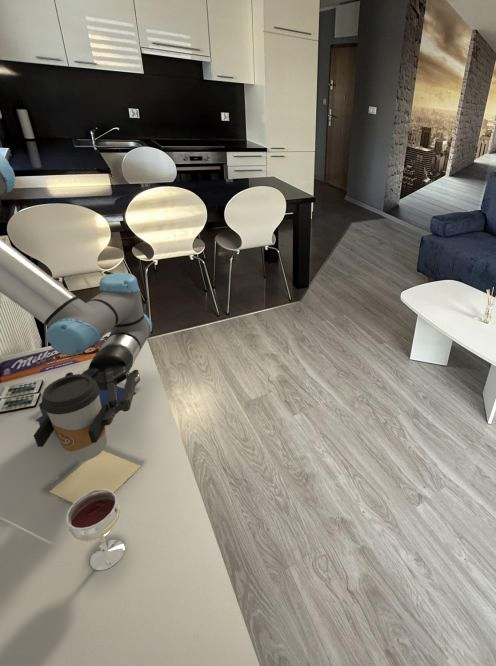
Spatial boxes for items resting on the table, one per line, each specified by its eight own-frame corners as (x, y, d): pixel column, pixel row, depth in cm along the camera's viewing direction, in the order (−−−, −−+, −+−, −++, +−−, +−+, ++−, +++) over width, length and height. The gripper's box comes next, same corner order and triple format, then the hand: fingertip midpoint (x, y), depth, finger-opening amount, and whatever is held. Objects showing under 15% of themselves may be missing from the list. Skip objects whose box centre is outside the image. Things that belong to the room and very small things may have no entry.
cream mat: (49, 492, 76) (49, 491, 76) (100, 449, 85) (100, 449, 85) (93, 513, 73) (93, 512, 73) (141, 466, 82) (140, 466, 82)
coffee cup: (50, 458, 73) (26, 395, 66) (90, 427, 80) (73, 367, 74) (85, 473, 71) (63, 409, 64) (123, 439, 78) (108, 379, 71)
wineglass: (80, 583, 63) (62, 536, 57) (86, 543, 68) (69, 497, 63) (129, 565, 66) (115, 519, 60) (131, 528, 71) (118, 483, 66)
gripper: (166, 370, 91) (134, 449, 71) (68, 374, 88) (4, 459, 67) (162, 343, 88) (126, 418, 68) (59, 346, 84) (-11, 427, 64)
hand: (65, 438), depth 68 cm, fingers closed on coffee cup, 8 cm apart
